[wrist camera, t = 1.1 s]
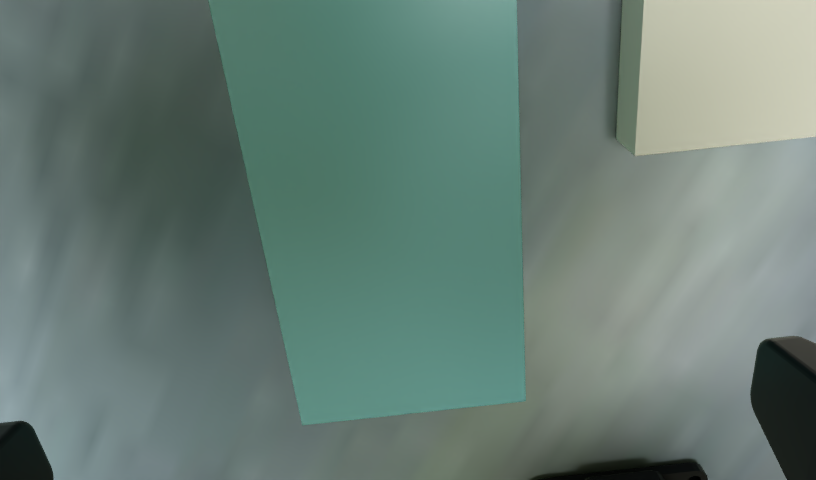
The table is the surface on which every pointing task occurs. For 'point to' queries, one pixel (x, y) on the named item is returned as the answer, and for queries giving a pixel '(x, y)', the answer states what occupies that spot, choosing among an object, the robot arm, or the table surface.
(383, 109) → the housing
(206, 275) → the table surface
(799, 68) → the base plate
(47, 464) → the robot arm
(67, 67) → the table surface
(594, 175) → the table surface
